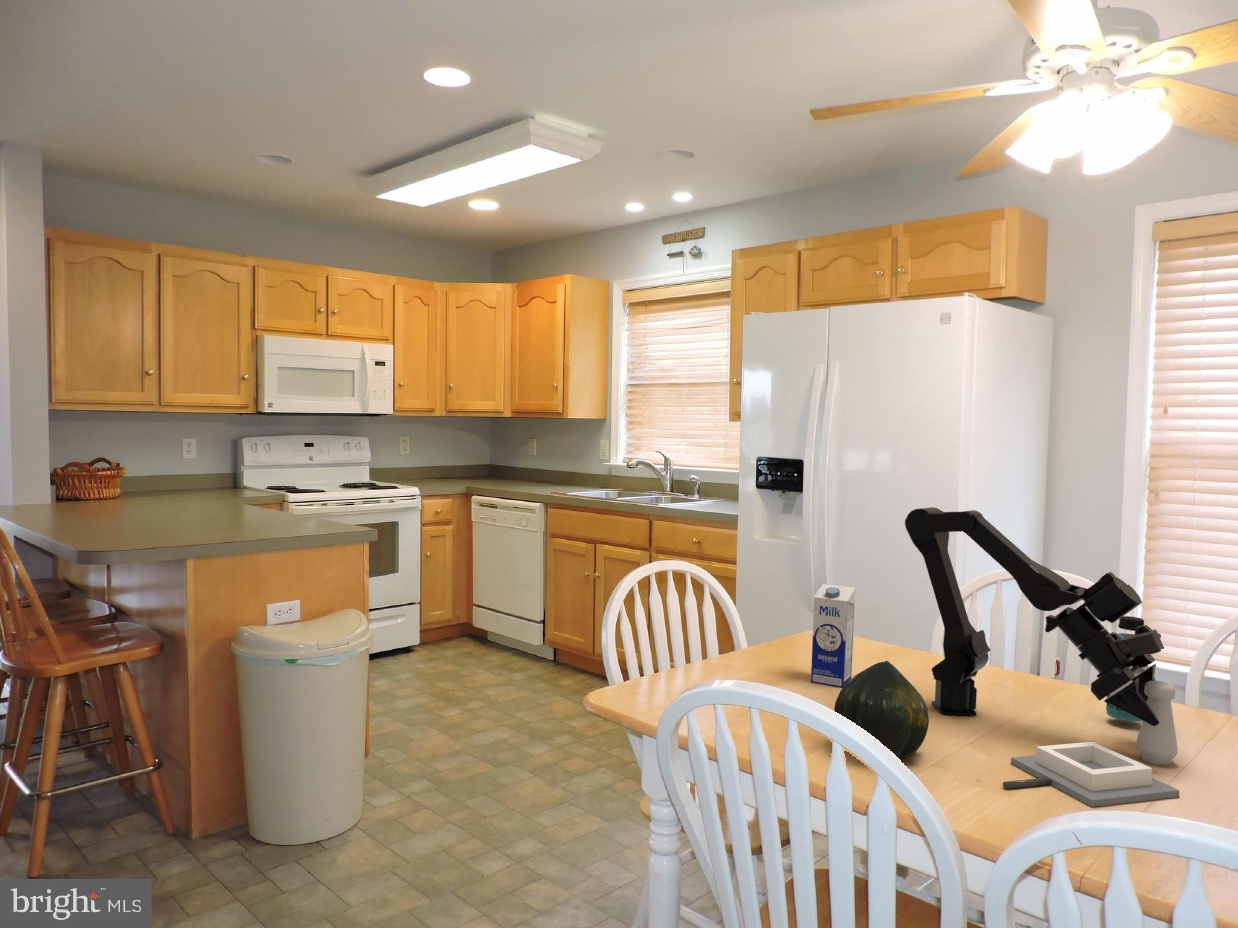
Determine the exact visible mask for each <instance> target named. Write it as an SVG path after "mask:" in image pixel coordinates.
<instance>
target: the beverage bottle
mask: <svg viewBox="0 0 1238 928" xmlns="http://www.w3.org/2000/svg"><path fill="white" fill-rule="evenodd" d="M1118 620H1119V622H1118V628H1119V629H1122V630H1125V631H1132V632H1135V628H1137V627H1139V626H1143V625H1145V620H1144V618H1141V617H1136V616H1129V615H1124V616H1123V617H1121V618H1120V619H1118ZM1117 634H1118V635H1119V636H1120V637H1121V638H1124V637H1128V636H1130V635H1135V633H1125V632H1123V633H1122V632H1121V633H1120V632H1119V633H1117ZM1147 667H1148V668H1149V667H1150V666H1149V665H1147ZM1109 696H1110V695H1108V696H1106V699H1107V698H1108V697H1109ZM1145 701H1146V700H1145ZM1146 703H1147V701H1146ZM1105 711H1106V714H1107V715H1108V716H1109V717H1110V718H1113V719H1117V720H1120V721H1124V722H1134V723H1137V722H1138V723H1140V722H1142V720H1141V719H1139V718H1137V717H1135V716H1133V715H1132V714H1130V713H1128V712H1126V711H1124V710H1122V709H1120V708H1118V707H1116V706H1114V705H1112V704H1110V703H1106V704H1105Z"/></svg>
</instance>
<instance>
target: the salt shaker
mask: <svg viewBox="0 0 1238 928" xmlns="http://www.w3.org/2000/svg"><path fill="white" fill-rule="evenodd" d="M1144 692H1145V694H1146V695H1147V696H1148V700H1147V704H1148V705H1149V707H1150V708H1151V710H1152V711H1153V713H1154V714H1155V716H1156V717H1157V719H1158V720H1159V722H1160V723H1159V724H1158V725H1156V726H1152V725H1150V724H1148V723H1146V722H1145V721H1143V720H1142V721H1141V723H1140V728H1139V731H1138V735H1137V739H1136V742H1135V745H1136V748H1137V751H1138V753H1139V754H1140V757H1141V758H1142V761H1143V762H1147V764H1151V765H1155V766H1163V767H1167V766H1169V765H1170V764H1172V763H1173V760H1174V759H1175V757H1176V756H1177V754H1178V751H1179V749H1178V748H1179V747H1178V741H1177V736H1176V727H1175V726H1176V725H1175V719H1174V715H1173V707H1172V700H1174V699H1175V697H1176V694H1177V693H1176V687H1175V686H1174V685H1173V684H1171V683H1169V682H1165V681H1159V680H1156V681H1148V682H1147V683H1146V684H1145V688H1144Z"/></svg>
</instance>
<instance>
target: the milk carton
mask: <svg viewBox="0 0 1238 928" xmlns="http://www.w3.org/2000/svg"><path fill="white" fill-rule="evenodd" d="M855 597H856V587H852V586H843V585H838V584H837V585H835V584H834V585H833V584H828V583H822V585H821V586H820V587H819V589H818V590H817V591H816V592H815V595H814V596H813V598H814V599H813V617H812V618H813V619H812V621H813V622H812V624H813V625H812V641H811V642H812V648H811V667H810V668H811V669H810V673H811V674H810V683H813V684H819V685H825V686H829V685H830V686H831V687H835V688H841V689H842V688H843V687H844V686H845V684H846V683H847V682H848V681H849V680H851V679H852V672H853V671H852V667H853V645H854V644H853V643H854V642H853V641H854V624H855V623H854V622H855V620H854V619H855V602H856V601H855Z"/></svg>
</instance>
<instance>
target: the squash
mask: <svg viewBox="0 0 1238 928" xmlns="http://www.w3.org/2000/svg"><path fill="white" fill-rule="evenodd" d="M834 703H835V704H834V710H833V711H835V712H837V713H839V714H841V715H842V716H844V717H846V718H847V719H849V720H851V721H852V722H854V723H856V725H858V726H860V727H861V728H863V729H864V730H866V731H867V732H868V733H870V734H871V735H872V736H874V737H875V738H876V739H878V740H879V741H880V742H881V743H882V744H883V745H884V746H886V747H887V748H888V749H890V751H892V752H893V753H894V754H895V755H896V756H898V757H902V758H903V757H909V756H912V755H913V754H915V753H916V752H917V751H918V750H920V749H919V748H920V747H921V746H922V744H923V743H924V742H925V738H926V736H927V735H928V734H927V733H928V729H929V723H930V722H929V721H930V720H929V718H930V717H929V710H928V707H927V704H926V701H925V699H924V698H923V696H922V695H921V694H920V692H919V691H918V690H917V689H916V688H915V686H913V684H912V683H910V681H909V679H907V678H906V677H905V676H904V675H903V674H902V672H900V671H899V669H898V668H897V667H896V666H894V664H892V663H890V661H888V660H885V661H881V662H877V663H875V664H873V665H871V666H869V667H867V668H866V669H863V670H861V671H860V672H859V673H856V674H855V675H854V676H853V677H851V680H849V681H848V682H847V683H846V684H845V686H844V687H843V688H841V690H840V692H839V693H838V695H837V697H836V700H835V702H834Z"/></svg>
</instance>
